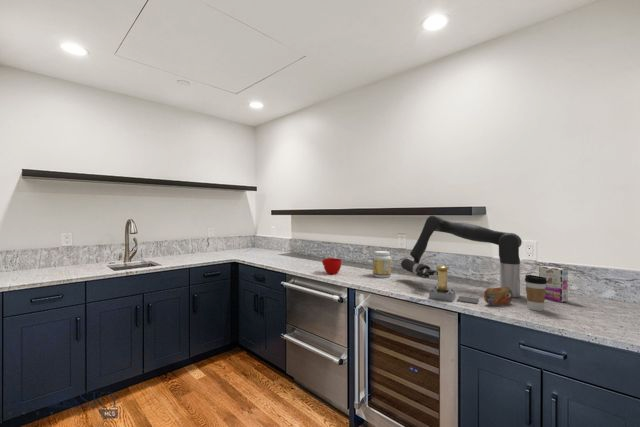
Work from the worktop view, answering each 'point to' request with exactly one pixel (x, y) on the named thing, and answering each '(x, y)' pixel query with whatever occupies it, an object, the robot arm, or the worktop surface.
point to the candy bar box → (555, 283)
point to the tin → (498, 296)
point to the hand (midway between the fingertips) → (435, 275)
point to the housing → (442, 294)
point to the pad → (468, 299)
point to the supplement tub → (382, 264)
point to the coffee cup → (535, 292)
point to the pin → (442, 278)
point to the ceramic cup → (332, 265)
